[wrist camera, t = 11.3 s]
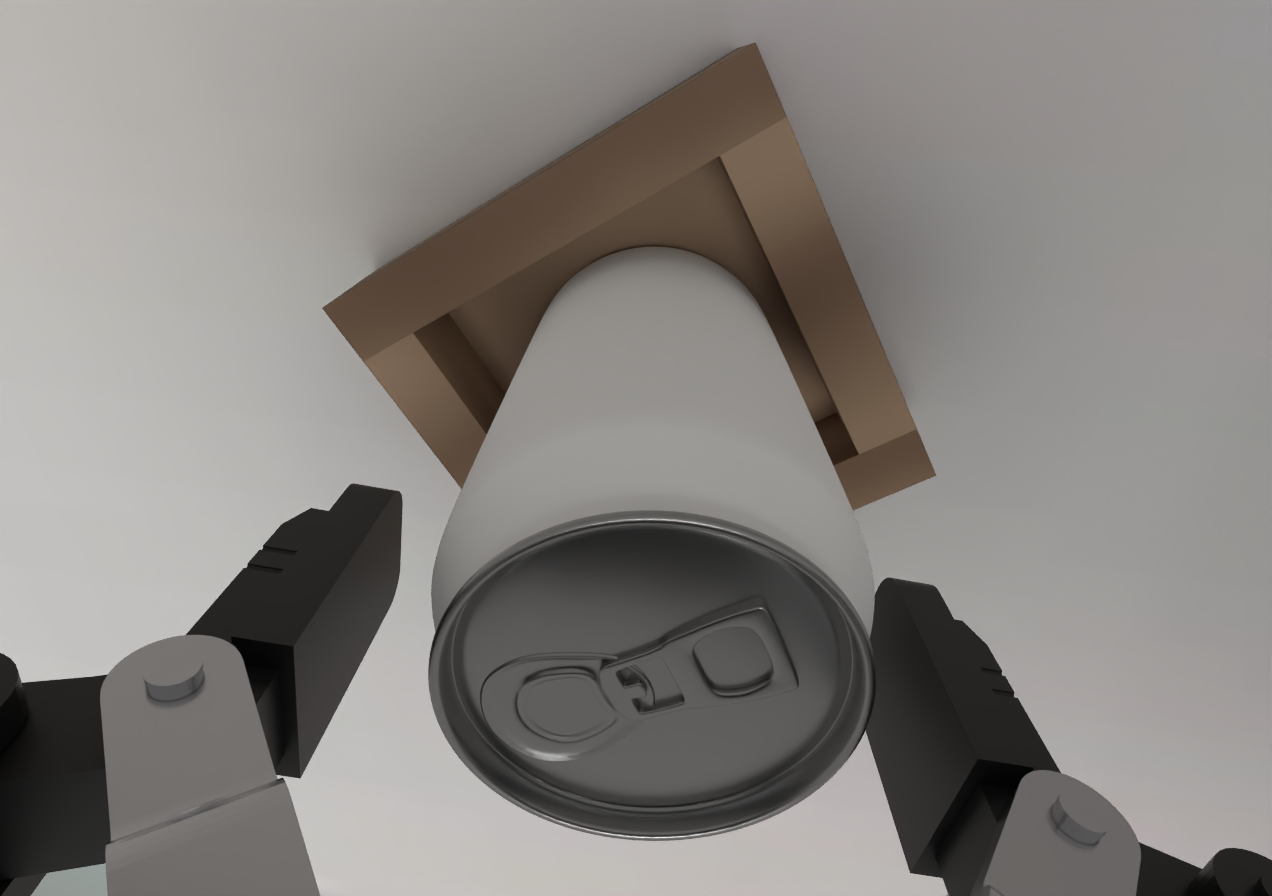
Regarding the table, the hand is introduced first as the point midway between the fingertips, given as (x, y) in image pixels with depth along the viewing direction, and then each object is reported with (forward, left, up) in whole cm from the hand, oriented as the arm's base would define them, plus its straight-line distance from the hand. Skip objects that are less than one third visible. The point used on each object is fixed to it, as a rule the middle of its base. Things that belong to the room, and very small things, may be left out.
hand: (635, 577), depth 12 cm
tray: (0, 0, -10) cm, 10 cm away
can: (0, 0, -9) cm, 9 cm away
